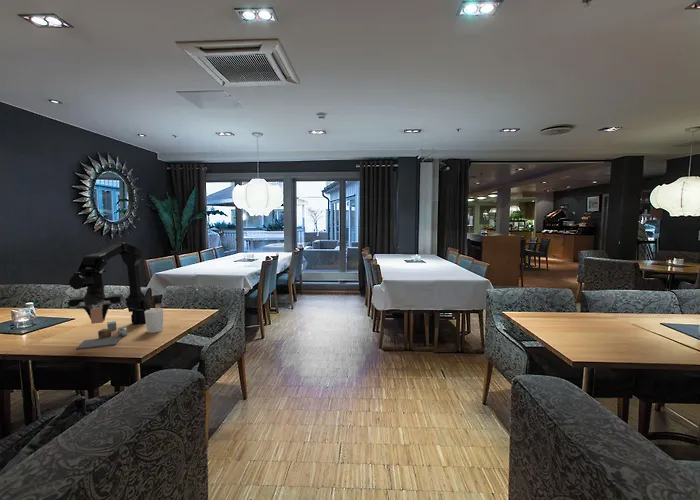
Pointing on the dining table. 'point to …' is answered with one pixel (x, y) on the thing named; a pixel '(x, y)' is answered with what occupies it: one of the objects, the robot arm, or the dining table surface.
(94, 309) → the terracotta block
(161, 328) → the white cup
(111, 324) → the slate block
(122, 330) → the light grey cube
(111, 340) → the charcoal mat
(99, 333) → the walnut block
